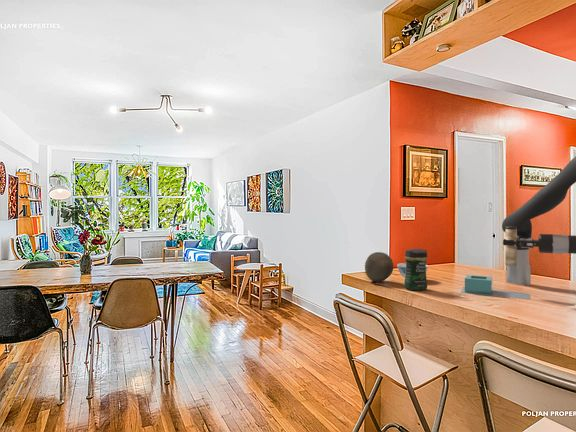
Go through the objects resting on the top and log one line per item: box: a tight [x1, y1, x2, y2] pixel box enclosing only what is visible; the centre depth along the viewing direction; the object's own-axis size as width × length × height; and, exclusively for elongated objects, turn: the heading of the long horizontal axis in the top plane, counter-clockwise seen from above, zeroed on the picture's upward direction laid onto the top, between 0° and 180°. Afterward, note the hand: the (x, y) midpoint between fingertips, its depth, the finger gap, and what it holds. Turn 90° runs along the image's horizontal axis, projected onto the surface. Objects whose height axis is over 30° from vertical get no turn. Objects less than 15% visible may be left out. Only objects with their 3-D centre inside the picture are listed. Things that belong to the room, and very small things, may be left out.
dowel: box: [504, 226, 517, 266], centre depth 154 cm, size 4×4×16 cm
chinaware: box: [396, 262, 429, 278], centre depth 193 cm, size 15×15×8 cm
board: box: [460, 286, 531, 301], centre depth 158 cm, size 25×13×1 cm, turn 59°
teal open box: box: [464, 274, 493, 296], centre depth 161 cm, size 10×10×6 cm
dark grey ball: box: [364, 251, 394, 283], centre depth 188 cm, size 14×14×15 cm
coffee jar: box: [404, 248, 428, 291], centre depth 170 cm, size 10×8×19 cm
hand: (503, 242), depth 155 cm, fingers closed on dowel, 4 cm apart
